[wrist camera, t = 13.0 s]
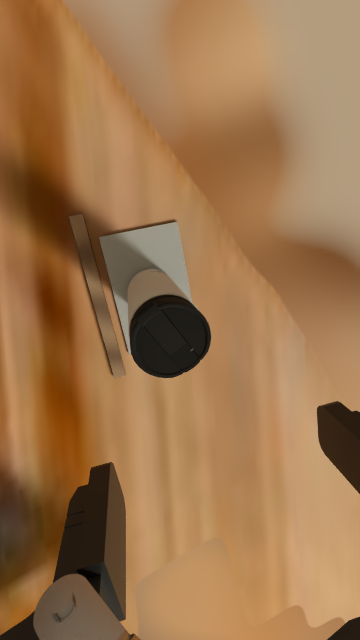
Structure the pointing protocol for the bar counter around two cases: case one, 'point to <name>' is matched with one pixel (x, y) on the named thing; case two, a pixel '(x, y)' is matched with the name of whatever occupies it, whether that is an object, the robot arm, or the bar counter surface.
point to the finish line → (97, 293)
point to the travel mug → (164, 326)
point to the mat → (143, 261)
